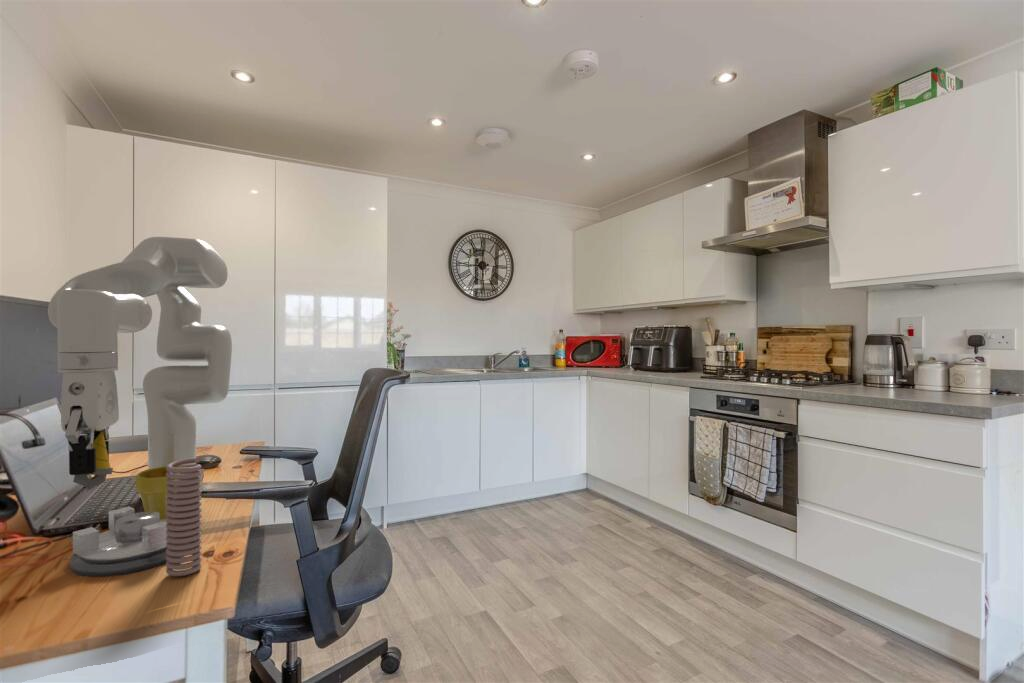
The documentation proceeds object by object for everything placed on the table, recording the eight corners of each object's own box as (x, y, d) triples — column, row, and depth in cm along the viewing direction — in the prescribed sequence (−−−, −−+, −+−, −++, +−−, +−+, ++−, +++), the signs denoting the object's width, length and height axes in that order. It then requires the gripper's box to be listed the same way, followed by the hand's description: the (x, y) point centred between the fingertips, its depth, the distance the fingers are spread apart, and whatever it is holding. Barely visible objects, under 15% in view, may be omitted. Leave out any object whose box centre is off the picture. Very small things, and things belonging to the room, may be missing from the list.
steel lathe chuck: (54, 568, 72) (54, 539, 72) (113, 529, 87) (113, 506, 87) (166, 557, 75) (166, 530, 75) (204, 522, 90) (204, 499, 90)
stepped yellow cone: (58, 490, 77) (74, 429, 79) (95, 488, 82) (109, 431, 84) (78, 493, 75) (94, 430, 77) (115, 491, 80) (129, 432, 82)
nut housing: (75, 550, 82) (75, 540, 82) (192, 525, 93) (192, 517, 93) (64, 589, 69) (64, 578, 69) (202, 555, 80) (202, 545, 80)
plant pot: (201, 516, 98) (201, 470, 98) (138, 530, 91) (138, 480, 91) (191, 504, 105) (191, 461, 105) (132, 516, 98) (133, 470, 98)
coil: (187, 580, 72) (187, 464, 72) (158, 580, 72) (158, 464, 72) (208, 565, 76) (208, 457, 76) (180, 565, 76) (180, 456, 76)
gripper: (97, 365, 72) (98, 480, 73) (132, 359, 88) (133, 454, 88) (32, 366, 69) (34, 487, 69) (81, 360, 85) (82, 458, 85)
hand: (90, 467), depth 79 cm, fingers closed on stepped yellow cone, 5 cm apart
